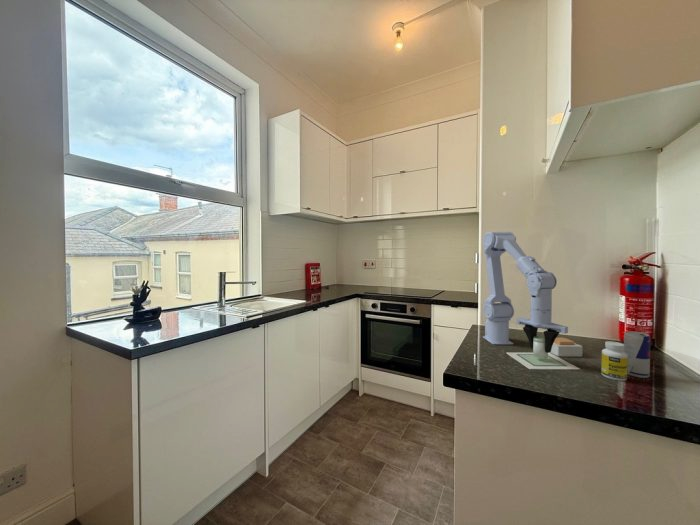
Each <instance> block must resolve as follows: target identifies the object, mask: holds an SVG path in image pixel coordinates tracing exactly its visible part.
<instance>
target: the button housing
mask: <svg viewBox="0 0 700 525" xmlns="http://www.w3.org/2000/svg"><path fill="white" fill-rule="evenodd" d="M583 347H584V346H583V345H581V344H577V343H576V342H574V345H558V344H556V343H553V345H552V349H551V352H550V353H551V354H553V355H555V356H557V357H581V358H582V357H583Z"/></svg>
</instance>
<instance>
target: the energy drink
mask: <svg viewBox="0 0 700 525" xmlns="http://www.w3.org/2000/svg"><path fill="white" fill-rule="evenodd" d="M623 344H624V345H625V349H624V350H623V352H625V353H626V354H627V355H628V364H627V376H628V375H629V376H631V377H636V378H641V379H647V378H649V377H650V374H651V373H650V372H651V370H650V369H651V336H650V334H649V333H645V332H641V331H640V332H639V331H633V330H626V331H625V332H624V334H623Z"/></svg>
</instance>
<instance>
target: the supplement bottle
mask: <svg viewBox="0 0 700 525" xmlns="http://www.w3.org/2000/svg"><path fill="white" fill-rule="evenodd" d="M604 343H605V344H604V347H605V348H603V349H602V350H601V366H600V367H601V368H600V373H601V375H602V376H603V377H604V378H606V379H609V380H612V381H613V380H614V381H619V382H621V381H622V382H624V381H627V379H628V374H627V364H628V355H627V354H626V353H625V352H624V349H625V345H624V343H621V342H618V341H611V340H610V341H609V340H608V341H605V342H604Z"/></svg>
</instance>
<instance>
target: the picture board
mask: <svg viewBox="0 0 700 525" xmlns="http://www.w3.org/2000/svg"><path fill="white" fill-rule="evenodd" d="M505 353H506V354H507V356H510V357H511V358H512V359H514V360H515V361H516V362H518V363H520V364H521V365H523V366H524V367H526V368H527V369H529V370H538V371H539V370H543V371H544V370H546V371H547V370H548V371H549V370H553V371H554V370H555V371H557V370H559V371H560V370H566V371H567V370H569V371H570V370H571V371H572V370H575V371H577V370H578V371H579V370H581V368H580V367H577V366H576V365H574V364H572V363H570V362H568V361H566V360H564V359H562V358H560V356H557V355H555V354H553V353H551V352H549V353H548V358H538V357H535V356H533V352H505Z"/></svg>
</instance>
